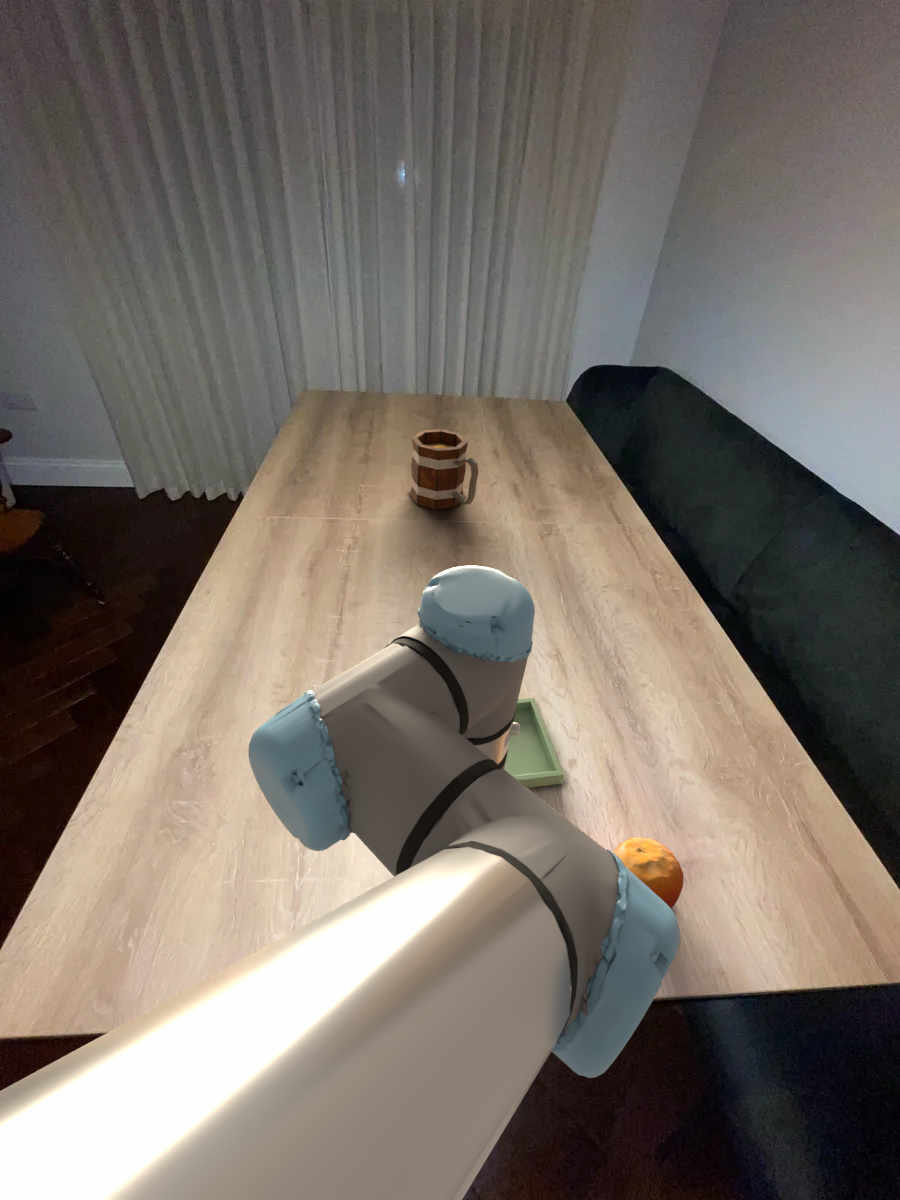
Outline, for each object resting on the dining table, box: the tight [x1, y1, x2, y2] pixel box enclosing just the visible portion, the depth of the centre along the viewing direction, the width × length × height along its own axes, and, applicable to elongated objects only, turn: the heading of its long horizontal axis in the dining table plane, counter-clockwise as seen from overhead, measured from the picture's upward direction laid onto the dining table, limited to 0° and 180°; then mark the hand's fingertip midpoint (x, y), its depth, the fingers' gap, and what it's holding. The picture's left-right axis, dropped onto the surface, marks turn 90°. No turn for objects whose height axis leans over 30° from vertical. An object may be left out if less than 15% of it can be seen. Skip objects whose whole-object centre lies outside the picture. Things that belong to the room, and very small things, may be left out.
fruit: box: [612, 836, 684, 909], centre depth 59 cm, size 8×8×8 cm
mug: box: [410, 428, 479, 510], centre depth 128 cm, size 20×14×15 cm
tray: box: [504, 697, 564, 789], centre depth 75 cm, size 16×14×2 cm
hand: (447, 868), depth 57 cm, fingers open, 10 cm apart
